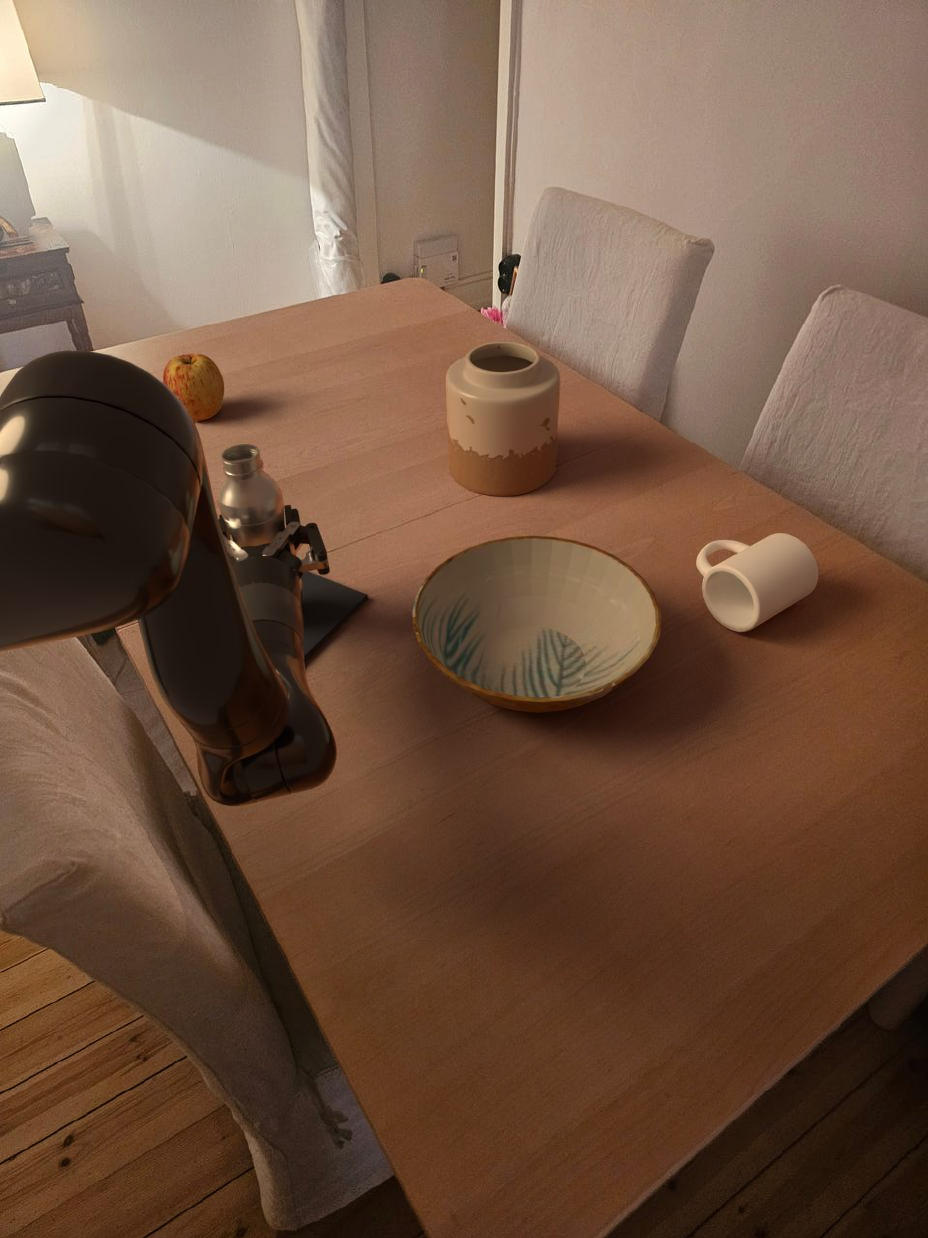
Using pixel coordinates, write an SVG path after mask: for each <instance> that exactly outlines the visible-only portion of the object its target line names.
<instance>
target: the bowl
mask: <svg viewBox="0 0 928 1238" xmlns="http://www.w3.org/2000/svg"><path fill="white" fill-rule="evenodd" d="M660 607H661V606H659V602H658V599H657V596H656V594H655V592H654V591H653V590H652V588H651V586H650V585H649V583H648V581H646V579H645V578H644V577H643V576H642V575H641V574H640V573H639V572H638V571H636V569H634V568H633V567H632V566H631V565H630V564H628V563H627V562H625V561H624V560H622V559H621V558H619V557H617V556H616V555H615V554H613V553H610V552H608V551H606V550H604V549H601V548H599V547H597V546H594V545H591V544H587V543H584V542H581V541H578V540H575V539H569V538H563V537H557V536H547V535H524V536H523V535H522V536H521V535H520V536H508V537H503V538H498V539H493V540H492V539H491V540H488V541H485V542H481V543H478V544H476V545H475V544H474V545H473V546H469V547H468V548H467V547H466V548H465V549H463V550H461V551H459V552H457V553H455V554H453V555H451V556H450V557H449V558H447V559H446V560H444V561H443V562H442V563H440V564H439V565H438V566H436V567H435V568H434V569H433V570H432V572H431V573H430V574H429V575H428V576H426V578H425V579H424V581H423V582H422V584H421V586H420V587H419V590H418V591H417V593H416V595H415V600H414V602H413V607H412V627H413V630H414V633H415V637H416V638H417V639H416V640H417V642H418V644H419V645H420V647H421V648H422V650H423V651H424V653H425V654H426V656H427V657H428V659H429V660H430V661H431V663H433V665H434V666H435V667H436V668H437V669H438V670H439V671H440V672H442V673H443V674H444V675H445V676H446V677H447V678H448V679H449V680H450V681H451V682H452V683H453V684H454V685H455V686H457V687H458V688H460V689H462V690H463V691H465V692H467V693H468V694H470V695H472V696H473V697H475V698H476V699H479V700H481V701H483V702H485V703H488V704H491V705H493V706H496V707H499V708H504V709H507V710H512V711H517V712H528V713H545V712H546V713H549V712H561V711H564V710H568V709H573V708H578V707H582V706H583V705H585V704H588V703H591V702H593V701H595V700H598V699H600V698H602V697H605V696H607V695H608V694H609V693H611V692H612V691H614V690H615V689H617V688H618V687H620V686H621V685H623V684H624V683H625V682H627V681H628V680H629V679H630V678H631V677H632V676H633V675H634V674H635V673H636V672H637V671H638V670H639V669H641V667H642V666H643V665H644V664H645V663H646V662H647V661H648V660H649V658H650V657H651V655H652V654H653V651H654V650H655V648H656V646H657V644H658V643H659V638H660V634H661V630H662V615H661V614H662V613H661V608H660Z"/></svg>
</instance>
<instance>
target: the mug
mask: <svg viewBox="0 0 928 1238" xmlns="http://www.w3.org/2000/svg"><path fill="white" fill-rule="evenodd" d="M718 551H728V552H732V553H735V554H733V555H732V556H730V557H728V558H726V559H725V560H723V561H721V562H719V563H717V564H716V565H712V564H711V563H710V561H709V560H708V557H709V556H710V555H712V554H713V553H716V552H718ZM695 560H696V561H695V562H696V568H697V570H698V572H699V573H700V574H701V576H702V577H703V579H702V581H701V582H702V583H701V592H702V597H703V601H704V603H705V605H706V609H708V611H709V613H710V614H711V615H712V617H713V618H714V619H715V620H716V621H717V622H718V623H719V624H720V625H721V626H723V627H725V628H726V629H728V630H731V631H732V632H736V633H746V632H749V631H751V630H753V629H755V628H757V627H758V626H760V625H761V624H764V622H767V621H768V620H770V619H771V618H774V617H775V616H777V615H778V614H779V613H782V612H783V611H784V610H786V609H787V608H789V607H791V606H792V605H794V604H796V603H798V602H799V601H801V600H802V599H804V598H805V597H807V596H809V595H810V594H811V593H812V592H813V591H814V590H815V588H816V587H817V584H818V580H819V567H818V563H817V561H816V557H815V555H814V554H813V552H812V551H811V549H810V548H809V546H807V545H806V543H804V542H803V541H802V540H801V539H799V538H798V537H795V536H794V535H791V534H789V533H785V532H778V533H772V534H770V535H768V536H766V537H764V538H763V539H761V540H759V541H756V542H755V543H754V544H751V545H749V544H747V543H745V542H740V541H737V540H733V539H718V540H717V539H716V540H713V541H710V542H709V543H707V544H706V545H704V546H703V547H702V549H701V550H700V551H699V553H697V557H696V559H695Z"/></svg>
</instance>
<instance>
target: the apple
mask: <svg viewBox="0 0 928 1238" xmlns="http://www.w3.org/2000/svg"><path fill="white" fill-rule="evenodd" d="M162 382H163V383H164V384H165V385H167V386H168V387H169V389H170V390H171V391H172V392H173V393H174V394H175V395H176V396H177V397H178V398H179V399H180V400H181V401H182V403H183V404H184V405H185V407H186V408H187V410H188V411H189V413H190V415H191V416H192V418H193V420H194V422H201V421H202V422H203V421H205V420H208V419H210V418H213V417H214V416H216V415H217V414H218V412H219V411H220V410H221V408H222V405H223V401H224V398H225V397H224V396H225V382H224V377H223V375H222V372H221V370H220V369H219V367H218V365H217V364H216V362H215V361H214V360H212V358H211V357H209V356H207V355H204V354H202V353H187V354H181V355H177V356H175V357H173V358H171V359H170V360H169V361H168V362H167V363H166V365H165V367H164V370H163V375H162Z"/></svg>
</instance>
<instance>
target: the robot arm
mask: <svg viewBox="0 0 928 1238" xmlns="http://www.w3.org/2000/svg"><path fill="white" fill-rule="evenodd" d="M207 465H208V464H207V461H206V456H205V452H204V448H203V443H202V440H201V436H200V433H199V429H198V427H197V425H196V422H195V421H194V420H193V418H192V416H191V415H190V413H189V411H188V410H187V408H186V407H185V405H184V404H183V403H182V401H181V400H180V399H179V398H178V397H177V396H176V395H175V394H174V393H173V392H172V391H171V390H170V389H169V387H168V386H167V385H165V384H164V383H163V381H161V379H159V378H158V377H156V376H155V375H154V374H153V373H152V372H150V371H148V370H146V369H144V368H142V367H140V366H138V365H136V364H135V363H133V362H131V361H128V360H126V359H123V358H119V357H117V356H115V355H112V354H107V353H101V352H98V351H91V350H70V349H69V350H59V351H58V350H57V351H54V352H49V353H47V354H44V355H41V356H39V357H36V358H34V359H32V360H31V361H29V362H28V363H27V364H25V365H23V367H21V368H20V369H18V371H16V373H15V374H14V376H12V378H11V379H10V380H9V382H8V383H7V385H6V386H5V388H4V389H3V391H2V393H1V394H0V653H3V652H10V651H13V650H18V649H19V650H20V649H24V648H28V647H34V646H39V645H44V644H48V643H53V642H59V641H63V640H69V639H75V638H78V637H82V636H87V635H91V634H97V633H100V632H105V631H109V630H112V629H115V628H118V627H122V626H124V625H128V624H131V623H133V622H136V621H137V622H138V627H139V632H140V636H141V639H142V643H143V647H144V652H145V657H146V660H147V663H148V667H149V670H150V673H151V676H152V678H153V681H154V683H155V686H156V689H157V690H158V693H159V694H160V697H161V698H162V700H163V702H164V703H165V705H166V706H167V707H168V709H169V710H170V712H171V713H172V714H173V716H174V717H175V718H176V719H177V720H178V721H179V723H180V724H181V725H182V727H183V728H184V729H185V730H186V731H187V732H188V734H189V735H190V737H191V738H192V741H193V743H194V745H195V748H196V749H195V750H196V764H197V765H196V766H197V771H198V776H199V781H200V783H201V786H202V788H203V790H204V792H205V794H206V795H207V797H209V798H210V799H211V801H213V802H215V803H217V804H220V805H222V806H227V807H244V806H248V805H252V804H256V803H259V802H264V801H268V800H272V799H276V798H281V797H285V796H289V795H292V794H298V793H302V792H305V791H310V790H313V789H315V788H318V787H320V786H321V785H323V784H324V783H325V782H326V781H327V780H328V779H329V778H330V776H331V775H332V773H333V771H334V769H335V768H336V767H335V766H336V762H337V759H338V757H337V756H338V748H337V742H336V738H335V735H334V733H333V730H332V728H331V725H330V723H329V721H328V719H327V717H326V715H325V714H324V712H323V710H322V709H321V707H320V705H319V704H318V702H317V700H316V698H315V697H314V695H313V692H312V690H311V688H310V685H309V682H308V678H307V671H306V663H305V662H306V661H305V662H304V652H303V639H304V617H303V614H302V604H301V594H300V584H299V581H300V579H301V578H302V576H303V573H304V572H312V571H317V573H318V575H319V576H326V575H329V573H330V572H331V568H330V563H329V557H328V551H327V549H326V548H327V547H326V545H325V543H324V540H323V538H322V535H321V532H320V529H319V525H318V524H317V523H316V522H308V523H307V524H305V525H302V524H301V518H300V511H299V510H298V509H297V508H296V507H295V508H292V505H291V504H284V519H285V529H284V531H283V532H278V534H277V535H276V537H275V538H274V539H273V541H272V542H271V543H265V544H262V545H258V546H245V547H241V548H240V547H239V546H238V545H237V544H236V543H235V542H233V539H232V538H231V534H230V532H229V530H228V527H227V525H226V523H225V521H224V519H223V517H222V515H221V514H219V515H218V513H217V512H218V511H217V508H216V503H215V499H214V495H213V489H212V485H211V479H210V475H209V470H208V469H209V468H208V466H207ZM303 545H308V549H307V550H308V551H307V552H306V553H305V557H304V558H303V559H301V558H300V557H298V555H297V554H298V552H299V551H300V549H301V548H302V547H303Z"/></svg>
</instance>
